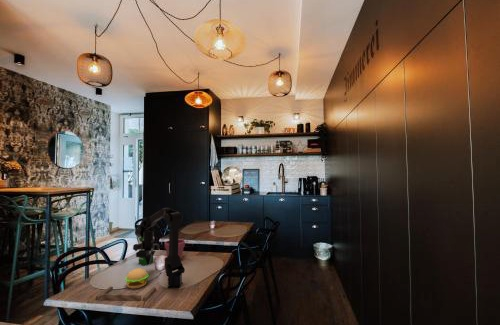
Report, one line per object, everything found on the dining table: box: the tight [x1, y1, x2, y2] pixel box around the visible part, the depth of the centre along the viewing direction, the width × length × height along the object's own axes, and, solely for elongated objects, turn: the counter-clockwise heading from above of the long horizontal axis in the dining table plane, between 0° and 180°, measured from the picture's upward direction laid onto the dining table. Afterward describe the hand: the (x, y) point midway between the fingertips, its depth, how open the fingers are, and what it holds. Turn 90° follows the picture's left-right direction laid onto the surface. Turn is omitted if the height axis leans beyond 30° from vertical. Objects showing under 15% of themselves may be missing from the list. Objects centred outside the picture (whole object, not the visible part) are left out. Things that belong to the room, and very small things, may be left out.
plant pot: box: [164, 238, 186, 259], centre depth 184 cm, size 14×14×13 cm
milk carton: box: [137, 236, 155, 267], centre depth 176 cm, size 9×9×20 cm
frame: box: [95, 286, 157, 302], centre depth 130 cm, size 26×11×2 cm, turn 85°
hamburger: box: [124, 268, 150, 290], centre depth 141 cm, size 12×12×9 cm
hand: (148, 264), depth 154 cm, fingers closed
